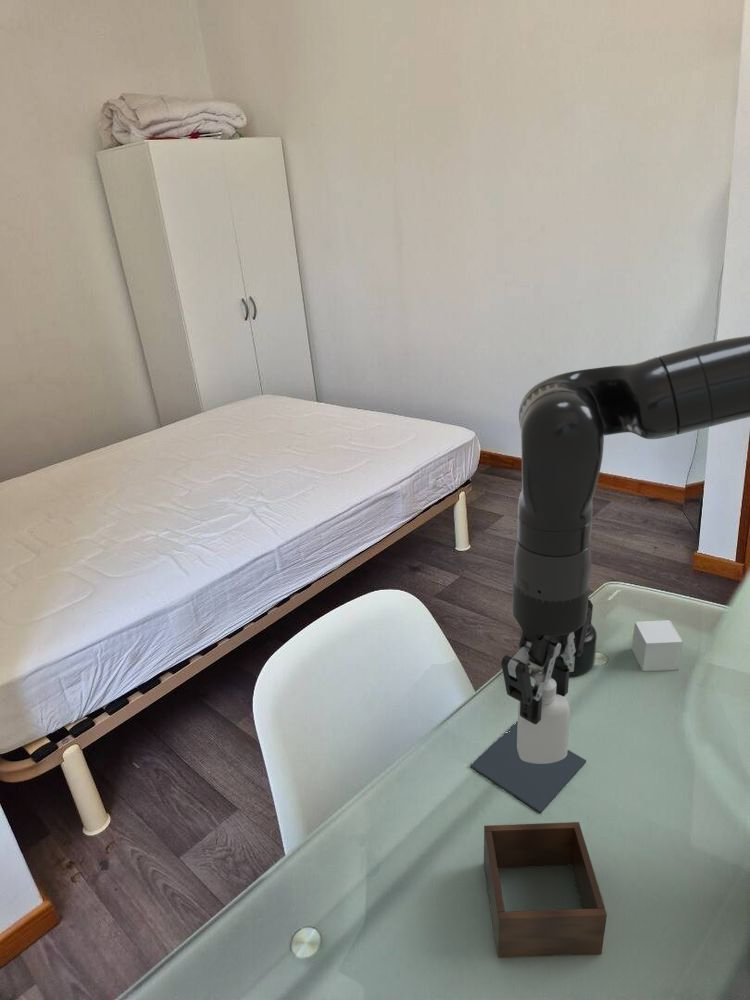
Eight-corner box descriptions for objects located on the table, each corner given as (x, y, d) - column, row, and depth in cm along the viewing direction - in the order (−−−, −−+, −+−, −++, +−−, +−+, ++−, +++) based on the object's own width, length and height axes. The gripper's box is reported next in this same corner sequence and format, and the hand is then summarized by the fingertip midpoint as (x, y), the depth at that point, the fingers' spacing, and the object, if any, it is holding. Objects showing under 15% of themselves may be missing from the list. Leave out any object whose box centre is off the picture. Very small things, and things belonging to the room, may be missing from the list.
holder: (575, 859, 87) (579, 821, 84) (601, 954, 77) (607, 915, 74) (483, 862, 87) (483, 825, 84) (497, 957, 77) (498, 918, 74)
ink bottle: (531, 650, 124) (533, 595, 119) (574, 638, 126) (578, 583, 121) (560, 684, 116) (564, 626, 110) (605, 671, 118) (612, 613, 113)
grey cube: (642, 671, 117) (646, 643, 115) (631, 649, 123) (634, 621, 120) (678, 669, 117) (683, 641, 114) (665, 647, 122) (669, 619, 120)
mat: (586, 762, 101) (586, 760, 101) (540, 813, 93) (540, 811, 93) (517, 722, 109) (517, 720, 108) (470, 767, 101) (470, 765, 101)
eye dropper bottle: (523, 733, 83) (526, 654, 78) (570, 747, 81) (576, 667, 75) (512, 759, 80) (514, 678, 74) (561, 775, 77) (566, 692, 72)
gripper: (544, 625, 63) (538, 760, 70) (620, 560, 71) (606, 686, 79) (478, 595, 67) (478, 725, 75) (556, 538, 76) (549, 659, 84)
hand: (544, 704), depth 77 cm, fingers closed on eye dropper bottle, 5 cm apart
